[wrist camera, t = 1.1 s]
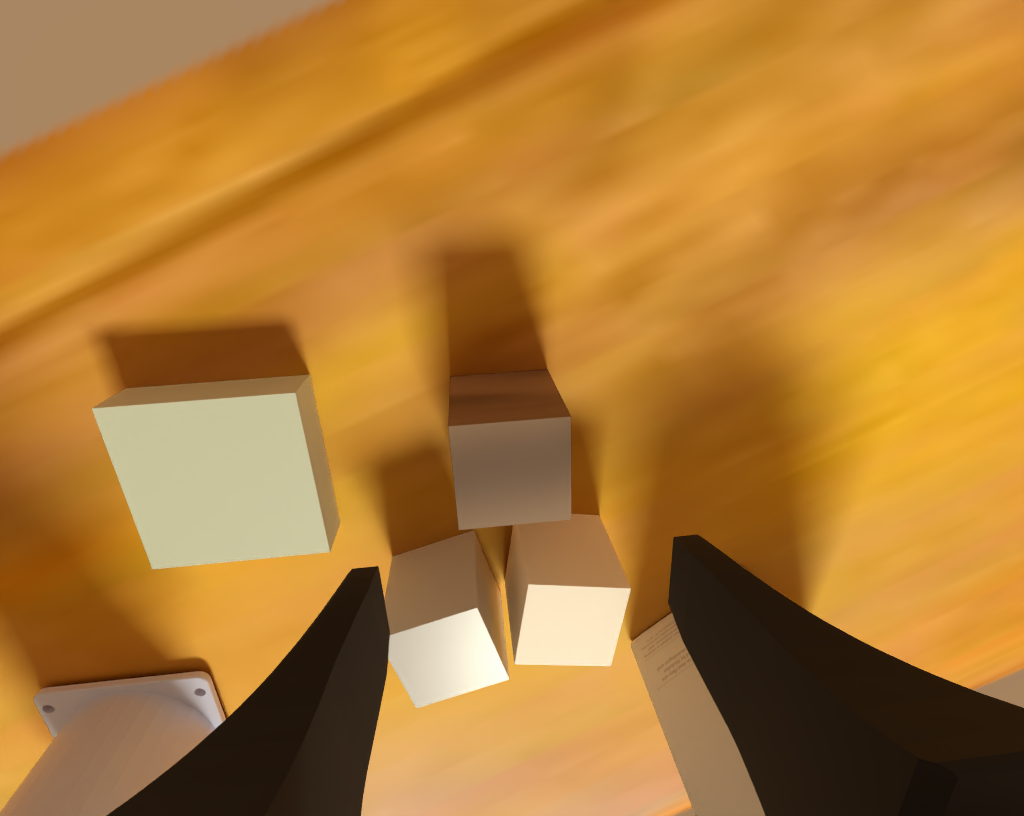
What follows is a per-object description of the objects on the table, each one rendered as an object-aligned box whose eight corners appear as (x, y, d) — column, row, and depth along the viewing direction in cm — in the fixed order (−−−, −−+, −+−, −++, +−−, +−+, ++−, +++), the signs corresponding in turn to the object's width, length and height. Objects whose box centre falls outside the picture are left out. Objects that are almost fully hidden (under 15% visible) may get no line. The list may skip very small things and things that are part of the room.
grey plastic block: (500, 593, 26) (509, 679, 22) (424, 617, 26) (416, 708, 22) (473, 529, 25) (477, 607, 20) (392, 555, 25) (377, 639, 20)
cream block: (584, 583, 26) (610, 666, 22) (504, 579, 26) (514, 664, 21) (599, 514, 25) (631, 588, 20) (515, 509, 24) (528, 584, 20)
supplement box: (624, 641, 28) (741, 959, 16) (741, 559, 27) (958, 844, 15) (699, 708, 31) (846, 1026, 19) (808, 637, 29) (1040, 932, 18)
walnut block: (549, 454, 24) (571, 519, 19) (458, 462, 23) (458, 530, 19) (547, 369, 22) (571, 416, 17) (450, 376, 22) (447, 426, 17)
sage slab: (342, 517, 24) (329, 552, 22) (182, 532, 24) (152, 569, 21) (312, 371, 22) (295, 392, 19) (131, 384, 21) (91, 408, 19)
